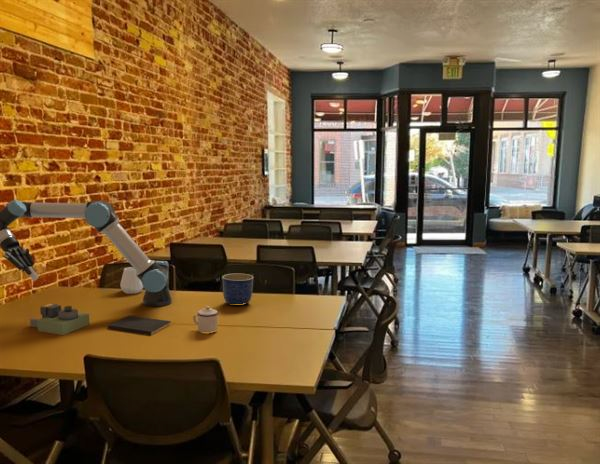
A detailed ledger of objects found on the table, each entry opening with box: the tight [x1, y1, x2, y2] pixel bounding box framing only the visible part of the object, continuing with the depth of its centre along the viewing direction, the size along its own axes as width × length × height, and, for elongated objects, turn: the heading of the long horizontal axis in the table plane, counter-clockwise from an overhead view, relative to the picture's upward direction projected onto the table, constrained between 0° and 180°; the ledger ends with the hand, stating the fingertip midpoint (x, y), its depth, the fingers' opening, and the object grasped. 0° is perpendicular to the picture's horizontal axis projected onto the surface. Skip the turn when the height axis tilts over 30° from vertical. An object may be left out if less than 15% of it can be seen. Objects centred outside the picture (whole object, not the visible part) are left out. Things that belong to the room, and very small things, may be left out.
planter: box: [221, 273, 254, 305], centre depth 269 cm, size 17×17×15 cm
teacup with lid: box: [192, 305, 219, 332], centre depth 224 cm, size 12×9×12 cm
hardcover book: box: [107, 314, 172, 336], centre depth 227 cm, size 16×23×2 cm
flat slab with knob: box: [29, 305, 90, 336], centre depth 223 cm, size 22×16×10 cm
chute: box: [39, 303, 62, 319], centre depth 224 cm, size 6×7×9 cm
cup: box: [119, 266, 144, 295], centre depth 286 cm, size 13×13×14 cm
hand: (36, 278), depth 230 cm, fingers closed
